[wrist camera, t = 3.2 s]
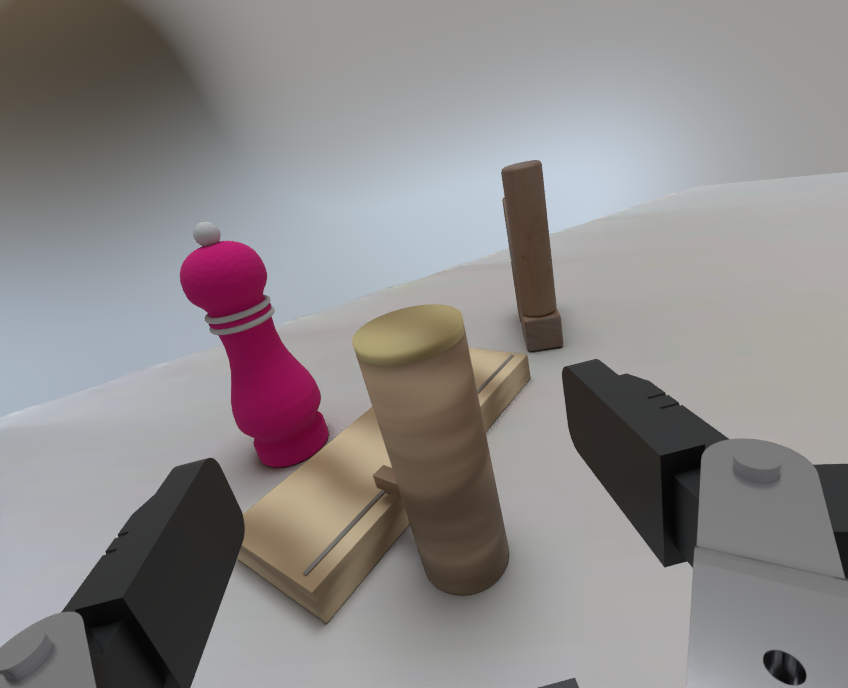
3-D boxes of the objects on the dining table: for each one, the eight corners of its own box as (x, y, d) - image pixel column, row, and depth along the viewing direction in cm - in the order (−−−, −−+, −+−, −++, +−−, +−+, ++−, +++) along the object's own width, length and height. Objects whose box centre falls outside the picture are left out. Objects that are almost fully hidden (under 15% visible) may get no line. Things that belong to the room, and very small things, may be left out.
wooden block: (548, 309, 55) (530, 154, 48) (564, 348, 45) (545, 160, 38) (517, 314, 56) (495, 161, 48) (527, 353, 46) (502, 170, 39)
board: (326, 623, 24) (311, 591, 23) (237, 558, 29) (221, 530, 28) (530, 378, 41) (527, 353, 40) (450, 366, 47) (445, 344, 46)
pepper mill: (292, 417, 45) (209, 216, 37) (349, 424, 41) (272, 203, 33) (237, 466, 39) (125, 241, 31) (299, 478, 36) (191, 229, 27)
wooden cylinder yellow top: (481, 611, 23) (417, 359, 17) (370, 552, 27) (289, 341, 21) (523, 537, 26) (483, 306, 20) (418, 496, 31) (360, 301, 25)
